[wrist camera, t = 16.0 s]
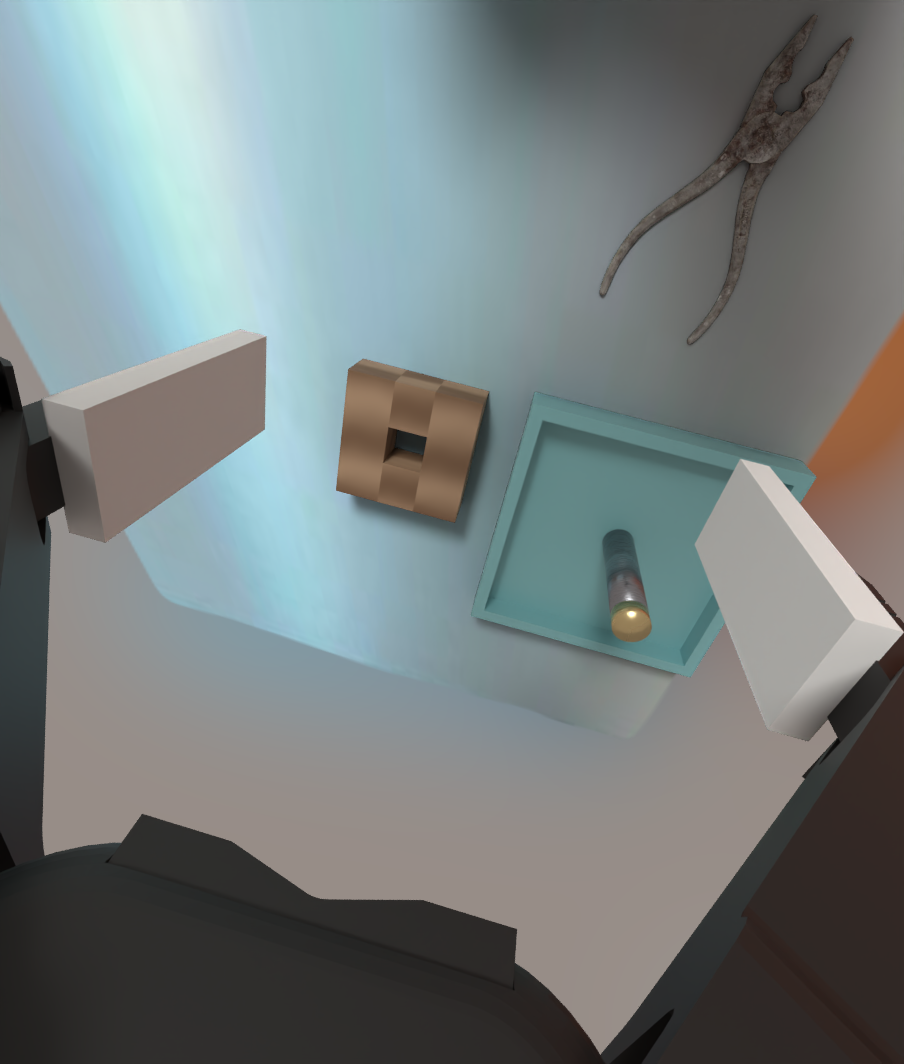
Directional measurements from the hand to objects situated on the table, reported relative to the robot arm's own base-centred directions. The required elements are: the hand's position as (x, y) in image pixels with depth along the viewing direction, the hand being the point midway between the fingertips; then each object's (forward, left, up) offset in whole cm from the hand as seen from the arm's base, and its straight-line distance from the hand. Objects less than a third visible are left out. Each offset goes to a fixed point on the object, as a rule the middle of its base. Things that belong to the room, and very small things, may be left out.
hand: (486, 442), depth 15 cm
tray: (+20, +14, -35) cm, 42 cm away
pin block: (+15, -8, -35) cm, 39 cm away
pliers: (-9, +10, -35) cm, 38 cm away
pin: (+20, +14, -34) cm, 42 cm away
